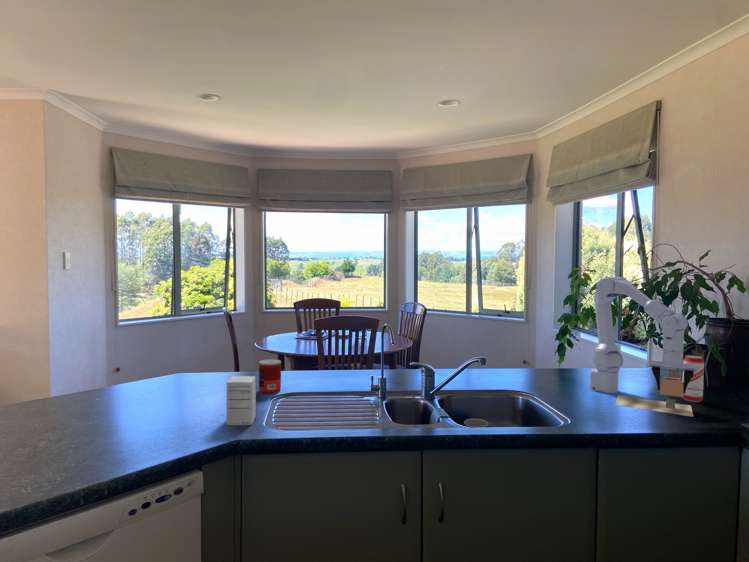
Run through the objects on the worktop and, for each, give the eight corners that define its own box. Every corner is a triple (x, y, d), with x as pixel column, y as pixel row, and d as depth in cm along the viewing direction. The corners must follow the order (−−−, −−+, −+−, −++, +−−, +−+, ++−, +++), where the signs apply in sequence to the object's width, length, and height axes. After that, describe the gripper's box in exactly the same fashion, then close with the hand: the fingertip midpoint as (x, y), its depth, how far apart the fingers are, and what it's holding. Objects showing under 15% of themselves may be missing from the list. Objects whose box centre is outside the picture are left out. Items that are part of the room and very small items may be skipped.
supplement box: (231, 417, 141) (231, 375, 141) (256, 416, 142) (256, 375, 142) (225, 425, 134) (225, 382, 134) (251, 425, 135) (252, 382, 134)
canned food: (284, 389, 173) (285, 360, 172) (271, 395, 165) (271, 364, 165) (268, 387, 176) (268, 358, 175) (254, 392, 169) (254, 362, 168)
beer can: (705, 403, 165) (707, 358, 165) (686, 402, 166) (688, 357, 166) (697, 398, 171) (699, 355, 171) (678, 397, 173) (680, 354, 172)
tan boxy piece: (659, 394, 155) (660, 378, 154) (659, 390, 159) (660, 375, 159) (683, 397, 151) (683, 381, 151) (682, 393, 156) (682, 378, 155)
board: (614, 408, 158) (615, 395, 158) (617, 398, 170) (618, 386, 170) (693, 420, 146) (694, 407, 146) (690, 409, 158) (691, 396, 158)
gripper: (647, 349, 155) (645, 390, 155) (700, 354, 148) (698, 397, 148) (647, 346, 161) (646, 385, 162) (698, 351, 154) (697, 392, 154)
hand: (671, 391), depth 155 cm, fingers closed on tan boxy piece, 6 cm apart
